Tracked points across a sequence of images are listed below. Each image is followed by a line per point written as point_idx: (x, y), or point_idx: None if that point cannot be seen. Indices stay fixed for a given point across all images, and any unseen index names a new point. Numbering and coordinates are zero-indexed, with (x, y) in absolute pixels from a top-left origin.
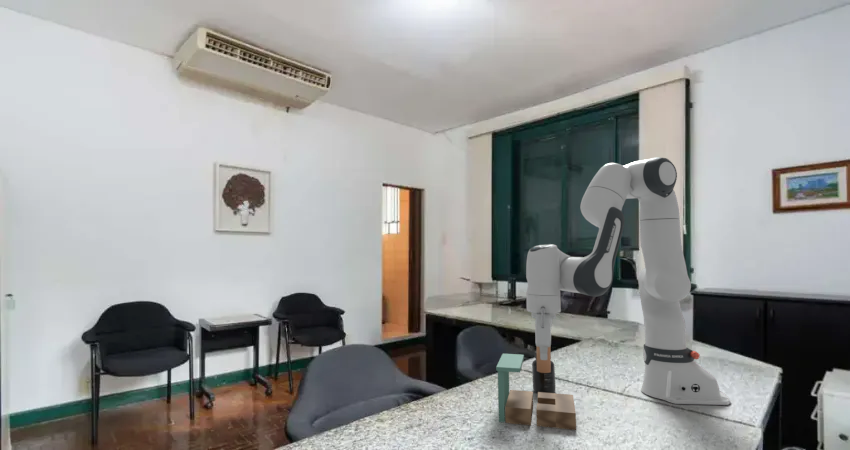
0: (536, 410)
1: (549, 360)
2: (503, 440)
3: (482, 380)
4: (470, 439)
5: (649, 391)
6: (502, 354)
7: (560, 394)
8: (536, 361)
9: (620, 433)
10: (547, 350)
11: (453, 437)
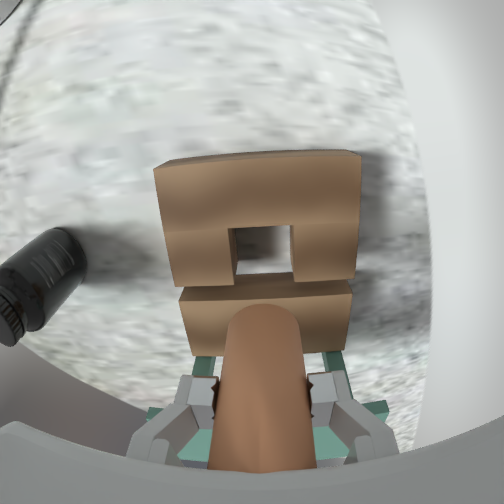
0: (354, 277)
1: (286, 352)
2: (423, 309)
3: (84, 380)
4: (418, 355)
5: (10, 2)
6: (186, 459)
7: (169, 213)
8: (30, 326)
9: (328, 30)
10: (372, 415)
11: (409, 376)
